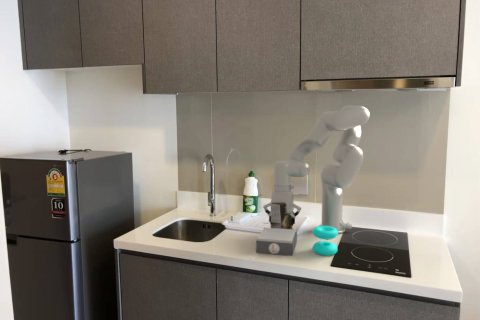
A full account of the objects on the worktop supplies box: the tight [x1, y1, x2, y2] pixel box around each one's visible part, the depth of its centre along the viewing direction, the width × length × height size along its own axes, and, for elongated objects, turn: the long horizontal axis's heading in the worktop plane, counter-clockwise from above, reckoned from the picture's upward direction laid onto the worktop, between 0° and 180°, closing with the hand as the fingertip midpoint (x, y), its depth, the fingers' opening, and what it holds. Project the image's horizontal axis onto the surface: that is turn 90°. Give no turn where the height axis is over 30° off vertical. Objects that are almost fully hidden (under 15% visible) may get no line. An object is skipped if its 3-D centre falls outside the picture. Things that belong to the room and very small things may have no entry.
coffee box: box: [270, 202, 293, 229], centre depth 181 cm, size 9×6×16 cm
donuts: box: [312, 225, 339, 257], centre depth 163 cm, size 10×10×10 cm
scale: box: [255, 226, 298, 257], centre depth 168 cm, size 15×16×6 cm
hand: (281, 224), depth 182 cm, fingers open, 9 cm apart
